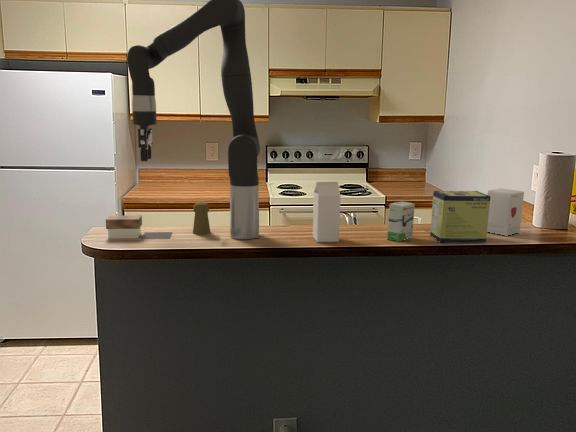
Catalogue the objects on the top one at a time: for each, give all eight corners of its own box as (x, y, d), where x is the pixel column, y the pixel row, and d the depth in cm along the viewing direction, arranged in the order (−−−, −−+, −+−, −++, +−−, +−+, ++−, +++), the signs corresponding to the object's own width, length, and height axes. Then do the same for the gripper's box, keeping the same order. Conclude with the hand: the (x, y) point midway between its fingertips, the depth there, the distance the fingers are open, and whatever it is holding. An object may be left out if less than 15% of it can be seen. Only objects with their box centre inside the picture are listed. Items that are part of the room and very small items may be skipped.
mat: (172, 234, 173) (172, 232, 173) (170, 241, 164) (170, 238, 164) (144, 235, 172) (144, 232, 172) (140, 242, 163) (140, 239, 163)
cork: (188, 235, 173) (188, 202, 171) (203, 232, 177) (203, 200, 175) (199, 238, 169) (198, 205, 166) (214, 235, 173) (214, 203, 171)
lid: (142, 224, 170) (141, 215, 169) (139, 228, 164) (138, 219, 163) (110, 224, 168) (109, 215, 168) (106, 229, 163) (105, 219, 162)
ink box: (399, 242, 168) (401, 205, 166) (386, 239, 172) (388, 203, 169) (413, 237, 175) (415, 202, 172) (400, 235, 178) (402, 200, 175)
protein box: (487, 243, 169) (491, 195, 166) (439, 243, 168) (443, 195, 165) (473, 235, 179) (477, 190, 176) (429, 235, 178) (432, 190, 175)
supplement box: (507, 237, 177) (511, 193, 174) (482, 232, 184) (486, 190, 181) (520, 233, 183) (525, 191, 180) (496, 228, 190) (500, 187, 187)
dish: (141, 236, 170) (140, 224, 170) (138, 241, 165) (137, 228, 164) (112, 236, 169) (111, 224, 168) (108, 241, 163) (107, 229, 163)
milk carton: (339, 242, 167) (341, 183, 163) (317, 242, 166) (318, 183, 162) (333, 236, 174) (335, 180, 170) (312, 237, 173) (314, 180, 169)
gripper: (153, 110, 164) (155, 162, 167) (158, 110, 178) (160, 158, 181) (128, 110, 163) (131, 162, 166) (135, 109, 177) (138, 158, 180)
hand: (146, 160), depth 173 cm, fingers open, 8 cm apart
